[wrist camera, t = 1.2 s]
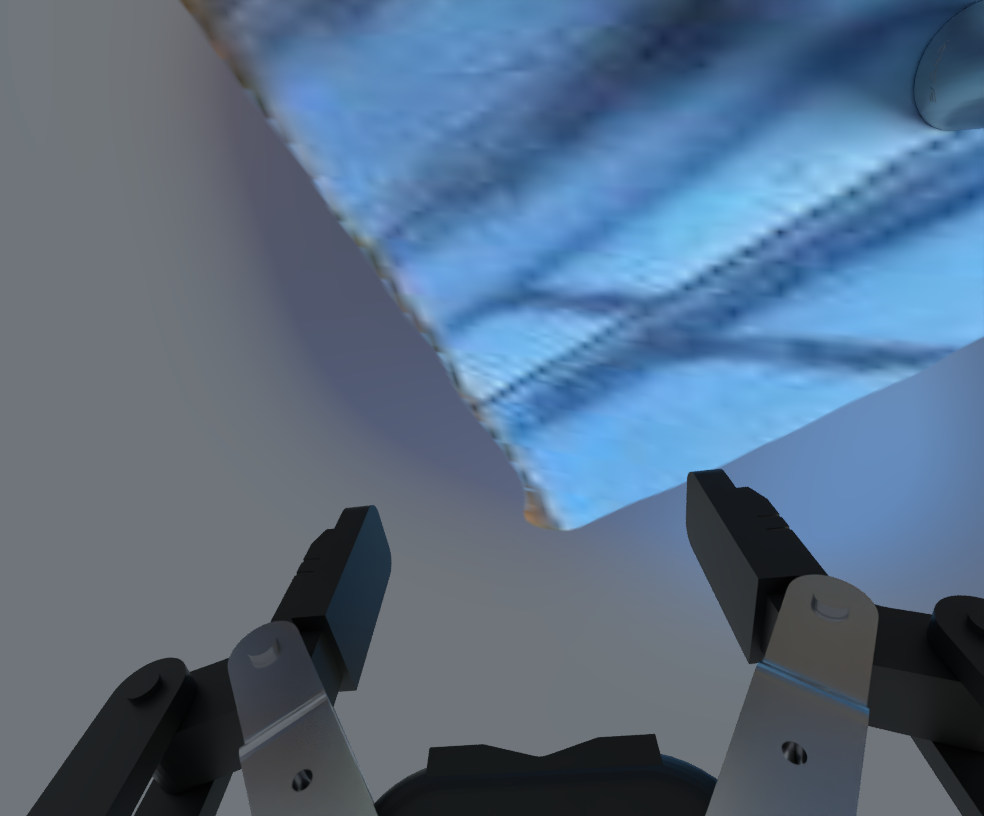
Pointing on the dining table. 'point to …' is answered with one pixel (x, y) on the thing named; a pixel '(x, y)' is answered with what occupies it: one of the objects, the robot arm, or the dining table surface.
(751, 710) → the robot arm
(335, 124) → the dining table surface
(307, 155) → the dining table surface
